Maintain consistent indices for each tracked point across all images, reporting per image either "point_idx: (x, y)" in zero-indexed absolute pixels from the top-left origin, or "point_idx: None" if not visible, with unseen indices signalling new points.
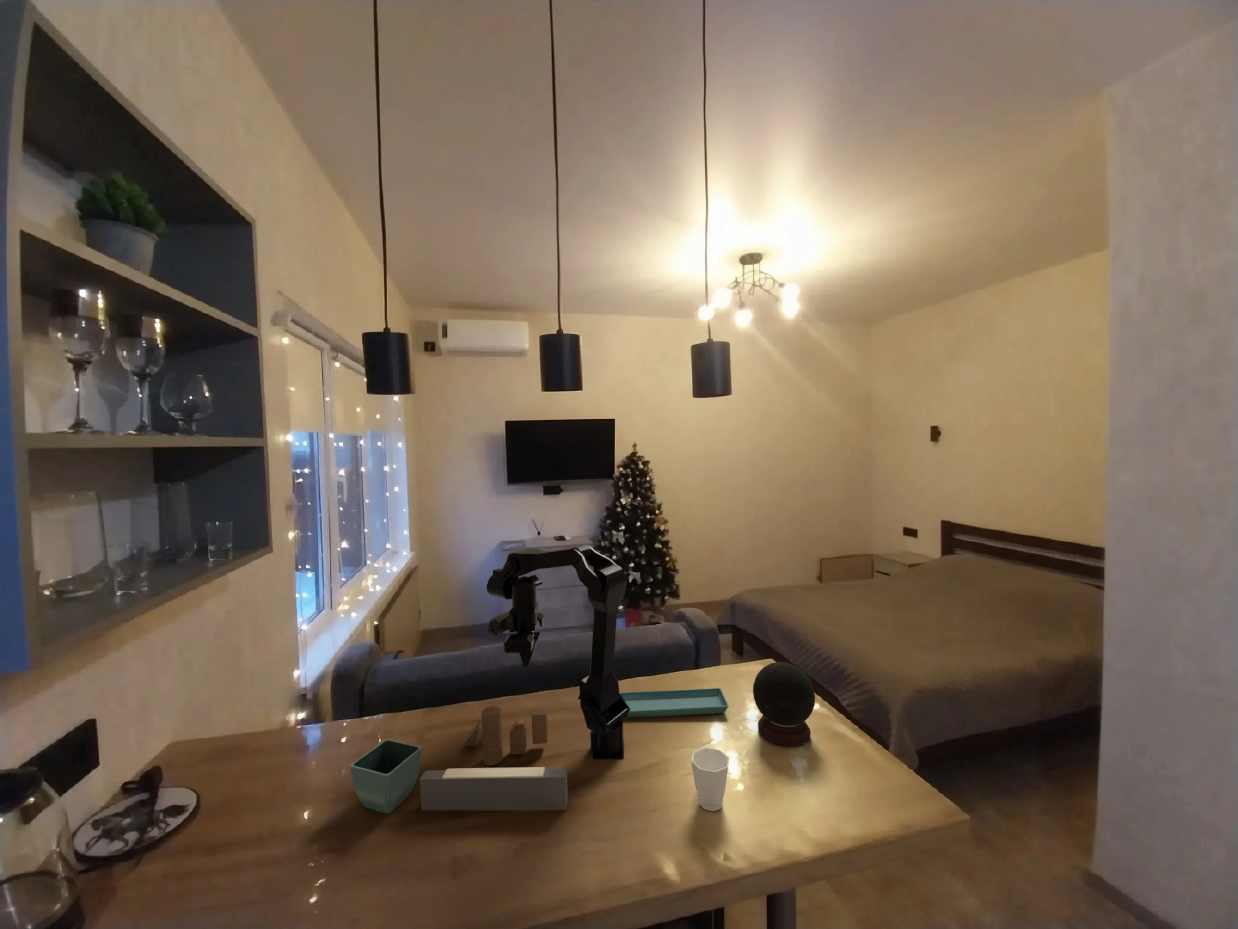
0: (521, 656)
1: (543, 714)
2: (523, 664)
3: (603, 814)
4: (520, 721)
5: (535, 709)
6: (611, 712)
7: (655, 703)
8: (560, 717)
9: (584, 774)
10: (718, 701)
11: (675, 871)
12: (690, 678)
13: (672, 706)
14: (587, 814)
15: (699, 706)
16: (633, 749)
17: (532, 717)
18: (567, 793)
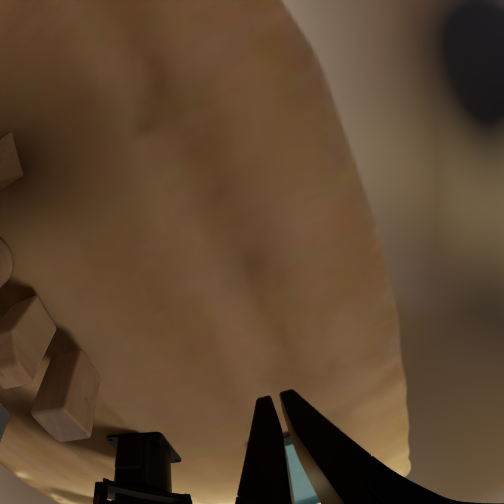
0: (240, 493)
1: (54, 438)
2: (255, 419)
3: (25, 445)
4: (5, 378)
5: (63, 416)
6: (171, 501)
7: None
8: (237, 350)
9: None
10: (314, 495)
11: (22, 477)
12: (388, 454)
13: (303, 474)
14: (12, 432)
15: (302, 489)
16: None
17: (31, 411)
18: (6, 423)
